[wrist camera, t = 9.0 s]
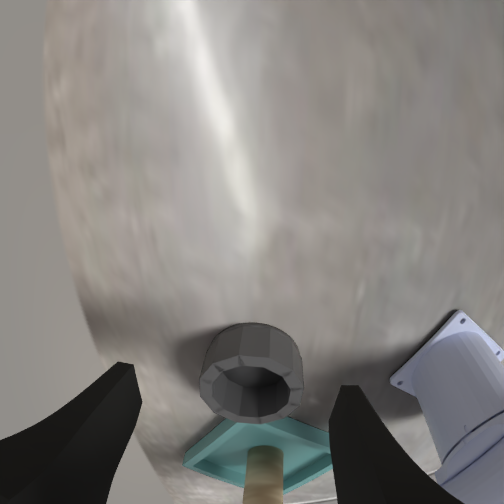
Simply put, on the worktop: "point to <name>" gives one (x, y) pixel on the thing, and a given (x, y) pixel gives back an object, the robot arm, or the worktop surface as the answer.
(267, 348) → the dark gray cup
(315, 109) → the worktop surface
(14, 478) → the robot arm
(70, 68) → the worktop surface
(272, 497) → the birch dowel
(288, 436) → the teal tray
